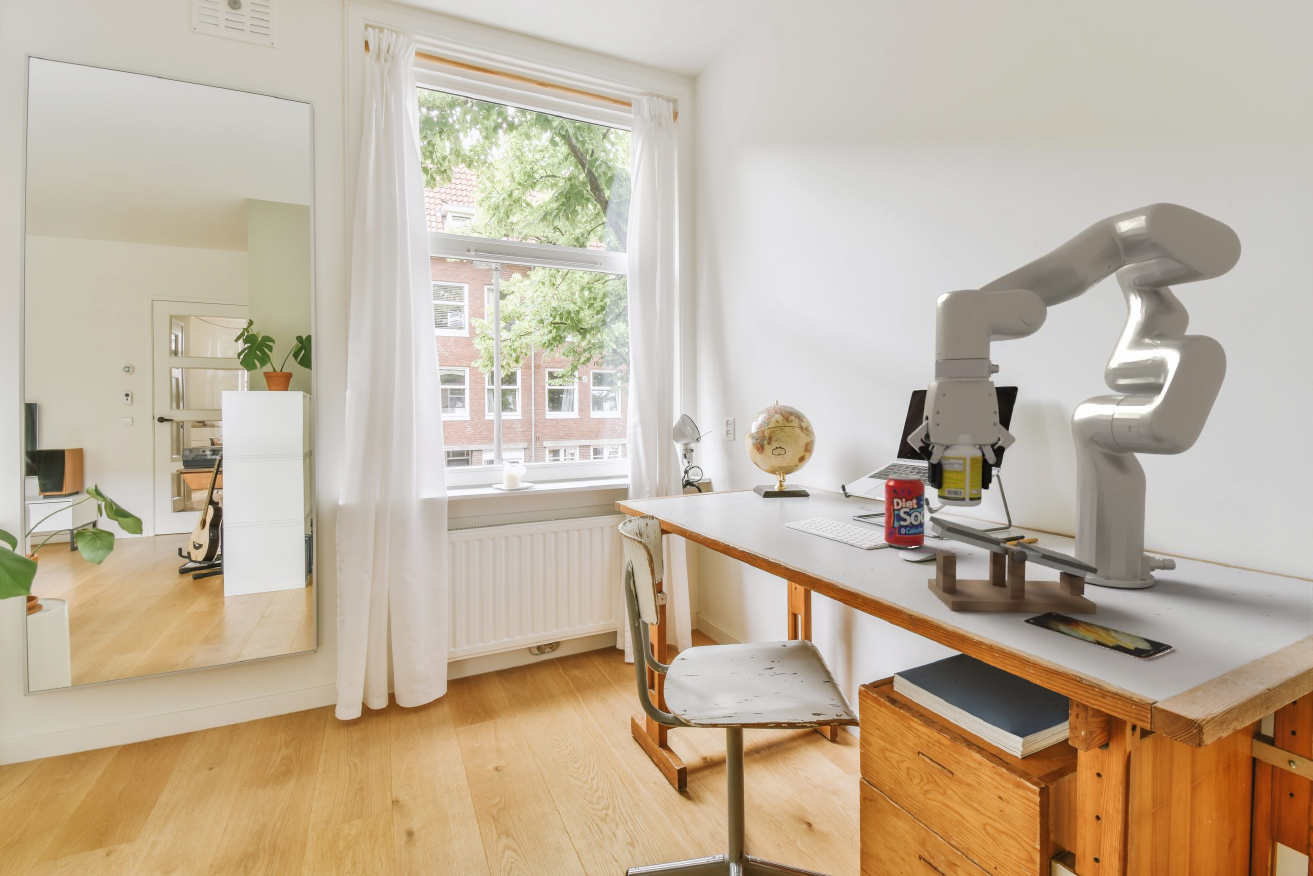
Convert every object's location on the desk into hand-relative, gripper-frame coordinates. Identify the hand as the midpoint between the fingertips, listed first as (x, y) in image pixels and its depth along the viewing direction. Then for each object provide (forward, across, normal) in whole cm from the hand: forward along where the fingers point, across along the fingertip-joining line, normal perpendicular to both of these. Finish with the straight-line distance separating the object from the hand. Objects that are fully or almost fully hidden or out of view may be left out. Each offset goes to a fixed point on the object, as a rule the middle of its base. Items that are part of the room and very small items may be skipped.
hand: (959, 487), depth 94 cm
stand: (+18, -7, 0) cm, 19 cm away
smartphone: (+18, -13, +13) cm, 26 cm away
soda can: (+18, -1, -35) cm, 39 cm away
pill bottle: (+3, 0, 0) cm, 3 cm away
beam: (+10, -7, 0) cm, 12 cm away
